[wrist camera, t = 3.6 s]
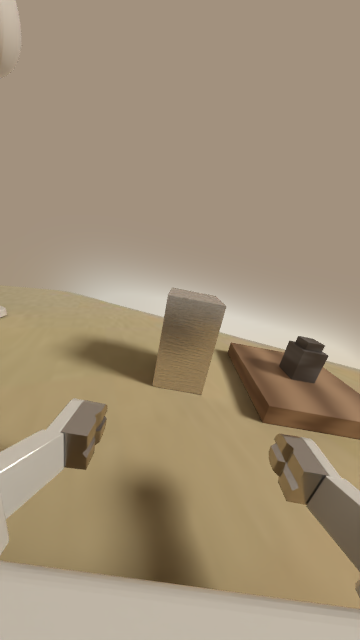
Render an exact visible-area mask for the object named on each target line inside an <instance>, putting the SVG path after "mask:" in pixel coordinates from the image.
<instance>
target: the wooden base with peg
mask: <svg viewBox="0 0 360 640" xmlns="http://www.w3.org/2000/svg"><path fill="white" fill-rule="evenodd" d="M323 348H324V345H323V344H321V343H319V342H318V341H316V340H314V339H310V338H305V337H301V336H298V338H297V340H296V342H293V341H289V343H288V345H287V348H286V350H285V353H283V352H278V351H273V350H268V349H262V348H257V347H252V346H246V345H241V344H236V343H231V344H230V347H229V350H228V355H229V356H230V358H231V360H232V362H233V364H234V366H235V368H236V370H237V372H238V374H239V376H240V378H241V380H242V382H243V384H244V386H245V388H246V390H247V392H248V394H249V396H250V398H251V400H252V402H253V404H254V406H255V408H256V410H257V412H258V414H259V416H260V418H261V420H262V422H263V423H269V424H275V425H281V426H287V427H292V428H298V429H304V430H310V431H315V432H321V433H327V434H333V435H339V436H344V437H350V438H356V439H360V394H359V393H357V392H356V391H355V390H353V389H352V388H351V387H349V386H348V385H347V384H345V383H344V382H342V381H341V380H340V379H338V378H337V377H336V376H334V375H333V374H331V373H330V372H329V371H327V370H326V369H325V368H323V366H324V364H325V362H326V360H327V358H328V355H326V354H325V353H323V352H322V350H323Z"/></svg>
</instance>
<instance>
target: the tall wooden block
mask: <svg viewBox="0 0 360 640" xmlns="http://www.w3.org/2000/svg"><path fill="white" fill-rule="evenodd" d="M225 309H226V306H225V305H224V304H223V303H222V302H221V301H220V300H219V299H218V298H217V297H216V296H212V295H207V294H202V293H196V292H191V291H187V290H181V289H176V288H172V289H171V290H170V292H169V294H168V299H167V304H166V310H165V316H164V322H163V327H162V333H161V339H160V345H159V350H158V356H157V362H156V368H155V373H154V379H153V385H152V386H155V387H161V388H166V389H172V390H178V391H183V392H189V393H195V394H200V395H202V391H203V387H204V384H205V380H206V377H207V373H208V370H209V366H210V363H211V359H212V355H213V352H214V348H215V345H216V341H217V338H218V334H219V330H220V327H221V323H222V320H223V316H224V313H225Z"/></svg>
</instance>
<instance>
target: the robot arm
mask: <svg viewBox="0 0 360 640" xmlns="http://www.w3.org/2000/svg"><path fill="white" fill-rule="evenodd" d="M20 51H21V26H20V19H19V14H18V8H17V4H16V1H15V0H0V78H3V77H5V76H7V75H8V74H9V73H11V72H12V70H13V69H14V68H15V66H16V64H17V62H18V59H19V55H20ZM5 315H7V311H6V308H5V307H2V306H0V317H2V316H5ZM106 412H107V405H106V404H101V403H96V402H91V401H86V400H80V399H75V398H74V399H72V400H71V401H70V402H69V403H68V404H67V405H66V407H65V408H64V409H63V410H62V411H61V412H60V414H59V415H58V416H57V417H56V418H55V420H54V421H53V422H52V423H51V424H50V425H49V427H48V428H47V429H46V430H40V431H38V432H36V433H35V434H33V435H31V436H29V437H27V438H25V439H23V440H22V441H20V442H18V443H16V444H14V445H12V446H10V447H9V448H7V449H5V450H3V451H1V452H0V555H1V553H2V552H3V550H4V548H5V547H6V545H7V544H8V542H9V533H8V527H7V522H6V519H7V518H8V517H9V516H10V515H11V514H13V513H14V512H15V511H16V510H17V509H18V508H19V507H21V506H22V505H23V504H24V503H25V502H26V501H27V500H29V499H30V498H31V497H32V496H33V495H34V494H35V493H37V492H38V491H39V490H40V489H41V488H42V487H44V486H45V485H46V484H47V483H48V482H49V481H50V480H52V479H53V478H54V477H55V476H56V475H57V474H58V473H60V472H61V471H62V470H63V469H64V467H66V468H74V469H83V470H86V469H87V467H88V465H89V462H90V460H91V458H92V456H93V454H94V450H95V445H96V444H97V443H99V442H100V440H101V437H102V435H103V432H104V429H105V426H106V417H105V414H106ZM274 440H275V442H276V443H275V444H274V445H272V446H271V447H270V450H269V461H270V465H271V467H272V469H273V471H274V472H275V473H276V474H277V475H278V476H279V478H278V483H279V485H280V488H281V490H282V492H283V495H284V497H285V499H286V501H288V502H293V503H299V504H304V505H307V506H306V507H307V508H308V509H309V510H310V512H311V513H312V514H313V515H314V516H315V518H316V519H317V520H318V521H319V523H320V524H321V525H322V526H323V527H324V529H325V530H326V531H327V532H328V534H329V535H330V536H331V537H332V538H333V540H334V541H335V542H336V543H337V545H338V546H339V547H340V548H341V549H342V551H343V552H344V553H345V554H346V556H347V557H348V558H349V559H350V560H351V562H352V563H353V564H354V565H355V567H356V568H357V569H358V570H359V571H360V491H359V490H358V489H357V488H356V487H354V486H353V485H352V484H351V483H349V482H348V481H347V480H346V479H342V478H341V477H340V475H339V474H338V473H337V471H336V470H335V469H334V467H333V466H332V465H331V463H330V462H329V461H328V459H327V458H326V457H325V455H324V454H323V453H322V451H321V450H320V449H319V447H318V446H317V445H316V443H315V442H314V441H313V440H311V439H309V438H303V437H297V436H291V435H284V434H278V435H276V437H275V439H274ZM355 589H356V591H357V593H358V595H359V597H360V580H359V581H358V582H357V583H356V586H355ZM0 640H360V609H358V608H350V607H343V606H336V605H328V604H321V603H313V602H306V601H298V600H291V599H284V598H276V597H269V596H261V595H254V594H246V593H239V592H231V591H224V590H217V589H209V588H202V587H194V586H187V585H179V584H172V583H165V582H157V581H150V580H142V579H135V578H127V577H120V576H112V575H105V574H97V573H90V572H83V571H75V570H68V569H60V568H53V567H45V566H38V565H30V564H23V563H15V562H8V561H1V560H0Z"/></svg>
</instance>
